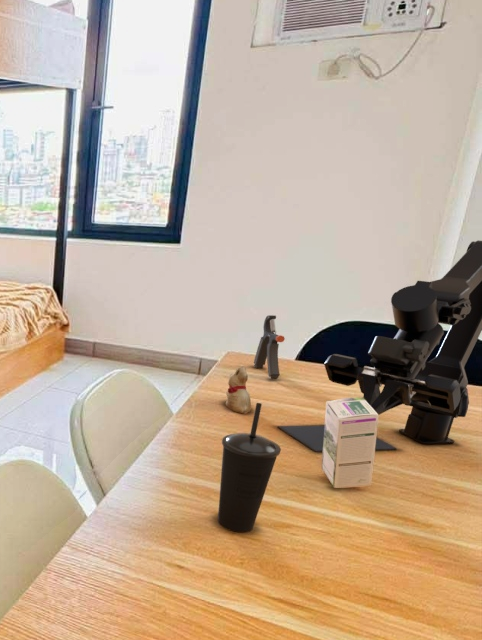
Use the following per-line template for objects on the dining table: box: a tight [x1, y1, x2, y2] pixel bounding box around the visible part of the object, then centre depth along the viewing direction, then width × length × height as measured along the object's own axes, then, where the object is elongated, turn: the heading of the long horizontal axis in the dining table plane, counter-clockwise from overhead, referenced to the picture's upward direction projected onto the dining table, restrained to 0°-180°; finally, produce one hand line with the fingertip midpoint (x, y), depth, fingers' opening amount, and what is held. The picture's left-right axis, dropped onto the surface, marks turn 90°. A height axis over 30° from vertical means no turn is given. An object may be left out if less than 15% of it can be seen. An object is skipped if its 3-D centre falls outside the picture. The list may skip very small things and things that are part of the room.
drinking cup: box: [217, 402, 282, 533], centre depth 94 cm, size 8×8×20 cm
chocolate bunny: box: [225, 365, 252, 415], centre depth 141 cm, size 6×8×10 cm
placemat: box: [277, 424, 397, 453], centre depth 126 cm, size 16×12×1 cm
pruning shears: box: [253, 314, 285, 380], centre depth 162 cm, size 2×12×15 cm, turn 171°
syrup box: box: [321, 397, 380, 489], centre depth 105 cm, size 6×6×14 cm
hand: (363, 419), depth 106 cm, fingers closed
